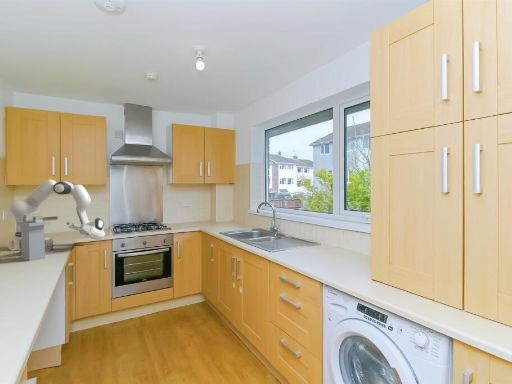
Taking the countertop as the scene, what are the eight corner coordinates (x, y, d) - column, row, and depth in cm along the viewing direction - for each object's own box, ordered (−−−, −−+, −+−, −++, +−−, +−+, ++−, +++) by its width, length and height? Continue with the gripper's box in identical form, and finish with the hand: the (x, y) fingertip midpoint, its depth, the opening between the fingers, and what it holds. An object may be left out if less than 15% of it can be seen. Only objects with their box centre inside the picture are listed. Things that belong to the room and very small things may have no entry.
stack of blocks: (47, 249, 227) (46, 233, 227) (53, 249, 226) (53, 234, 225) (19, 255, 206) (18, 238, 206) (25, 256, 205) (25, 239, 205)
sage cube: (32, 222, 194) (32, 216, 194) (39, 221, 197) (39, 216, 197) (35, 222, 192) (35, 216, 192) (42, 222, 195) (42, 216, 195)
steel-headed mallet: (23, 222, 195) (22, 215, 194) (55, 219, 212) (54, 212, 212) (26, 222, 192) (26, 215, 192) (58, 219, 210) (58, 212, 209)
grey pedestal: (17, 258, 198) (16, 221, 197) (37, 254, 208) (36, 219, 207) (29, 262, 189) (29, 223, 188) (50, 257, 199) (49, 221, 199)
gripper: (80, 225, 236) (65, 218, 225) (95, 227, 226) (79, 220, 216) (76, 232, 234) (60, 226, 223) (91, 234, 224) (75, 228, 213)
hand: (70, 223), depth 219 cm, fingers open, 8 cm apart
